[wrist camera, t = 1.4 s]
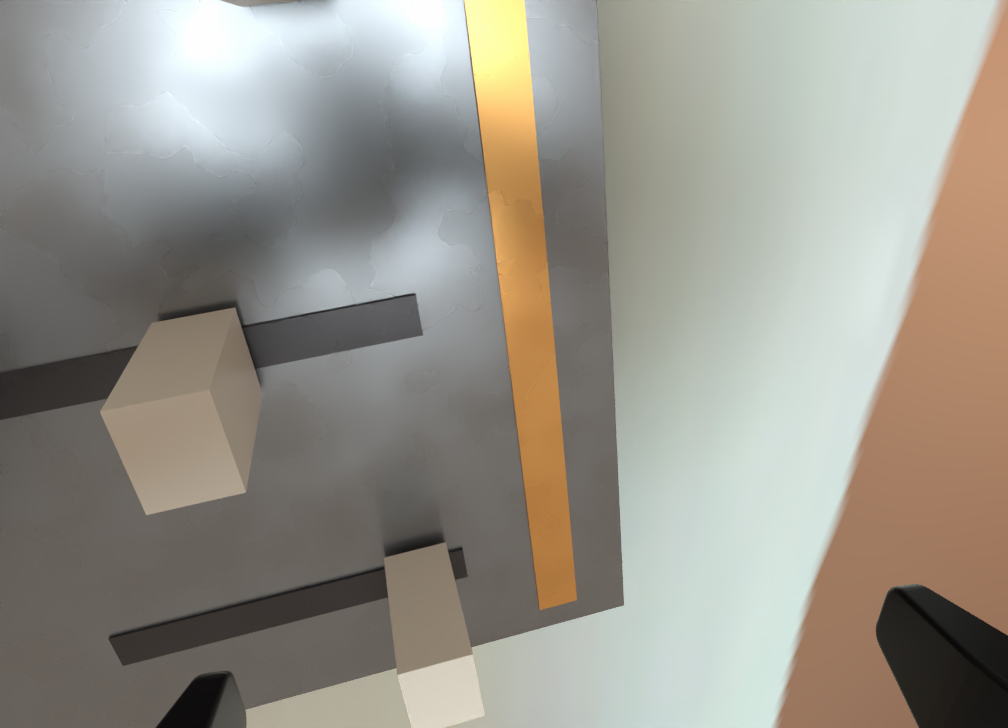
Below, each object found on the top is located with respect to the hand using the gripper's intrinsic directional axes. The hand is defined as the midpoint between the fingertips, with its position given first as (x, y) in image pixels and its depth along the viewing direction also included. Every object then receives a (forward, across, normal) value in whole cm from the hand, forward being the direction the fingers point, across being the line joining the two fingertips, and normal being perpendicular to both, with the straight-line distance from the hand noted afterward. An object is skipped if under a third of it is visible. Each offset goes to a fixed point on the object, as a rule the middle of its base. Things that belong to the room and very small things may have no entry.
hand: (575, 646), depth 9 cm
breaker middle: (+10, +7, 0) cm, 13 cm away
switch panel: (+12, +8, 0) cm, 15 cm away
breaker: (+10, +3, +9) cm, 14 cm away
